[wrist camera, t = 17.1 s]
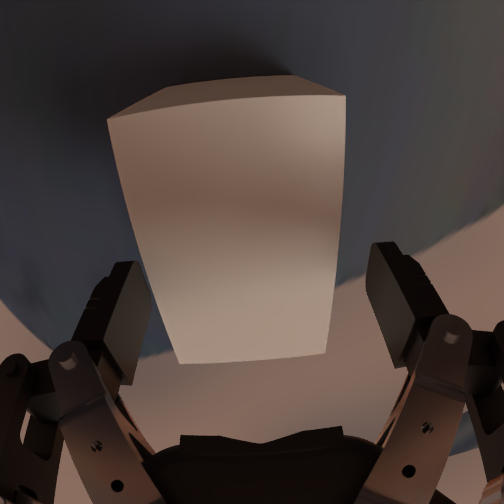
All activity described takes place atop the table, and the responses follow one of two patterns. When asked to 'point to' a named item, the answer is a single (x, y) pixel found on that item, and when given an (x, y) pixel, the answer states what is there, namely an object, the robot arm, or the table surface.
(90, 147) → the table surface
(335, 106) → the tan block
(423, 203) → the table surface
